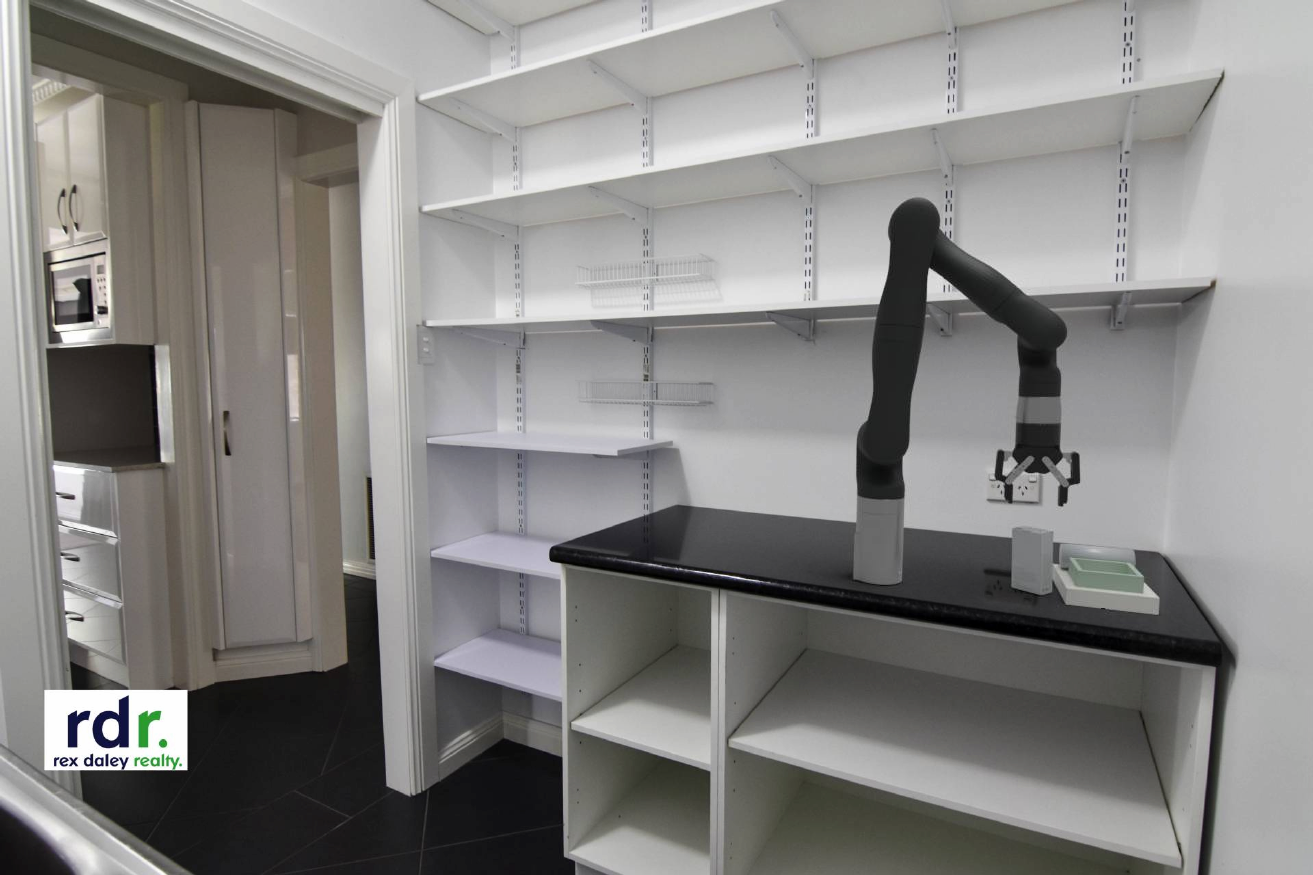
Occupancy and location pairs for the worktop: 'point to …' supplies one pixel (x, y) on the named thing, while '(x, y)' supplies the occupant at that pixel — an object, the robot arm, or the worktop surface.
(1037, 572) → the skincare box
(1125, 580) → the green piece
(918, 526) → the worktop surface
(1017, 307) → the robot arm
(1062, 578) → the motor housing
